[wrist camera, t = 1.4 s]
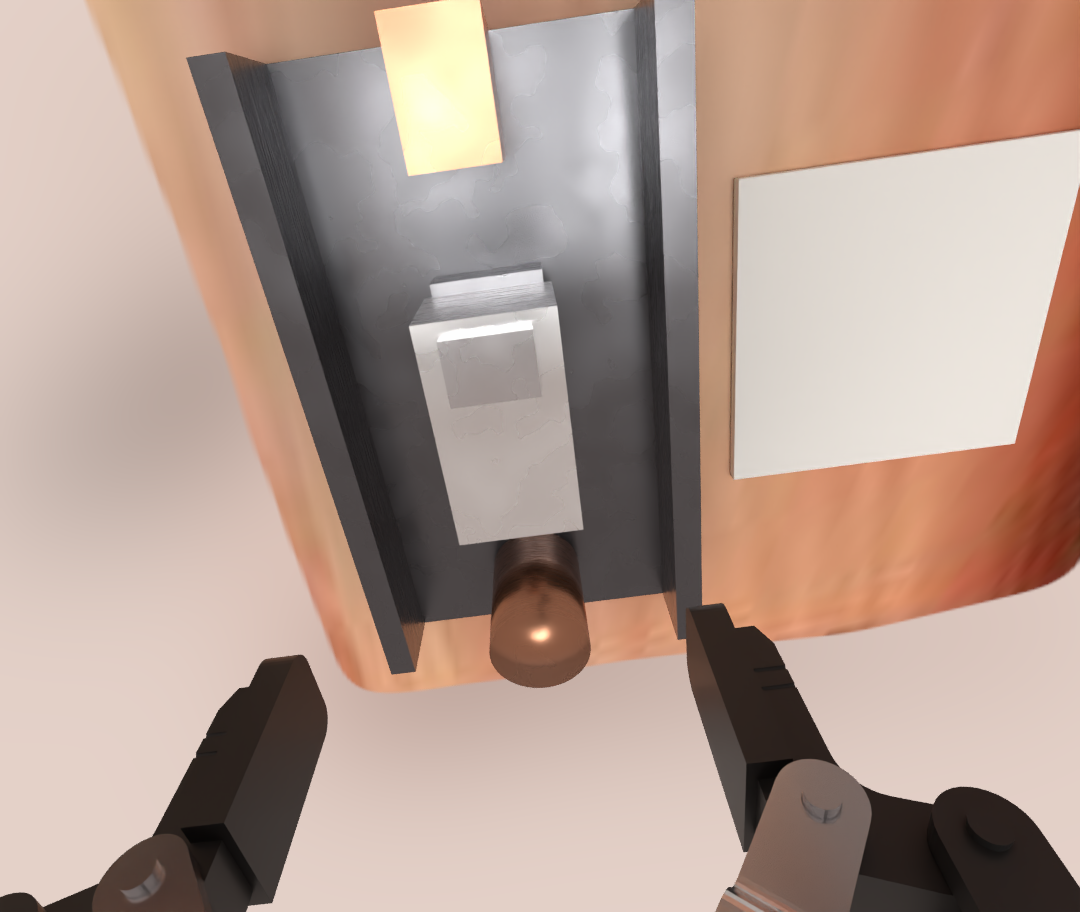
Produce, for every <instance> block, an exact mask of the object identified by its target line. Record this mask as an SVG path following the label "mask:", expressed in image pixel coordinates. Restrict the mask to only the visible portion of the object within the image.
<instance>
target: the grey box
mask: <svg viewBox="0 0 1080 912" xmlns="http://www.w3.org/2000/svg"><path fill="white" fill-rule="evenodd" d="M409 329H410V334H411V338H412V342H413V347H414V351H415V355H416V359H417V364H418V368H419V372H420V377H421V381H422V385H423V390H424V394H425V398H426V403H427V407H428V411H429V416H430V420H431V424H432V428H433V433H434V437H435V441H436V446H437V450H438V454H439V459H440V463H441V467H442V472H443V476H444V480H445V484H446V489H447V493H448V497H449V502H450V506H451V510H452V515H453V519H454V523H455V528H456V532H457V536H458V540H459V545H466V544H474V543H482V542H490V541H498V540H505V539H513V538H521V537H529V536H537V535H545V534H553V533H560V532H568V531H576V530H583V521H582V513H581V504H580V496H579V487H578V479H577V470H576V462H575V453H574V445H573V436H572V428H571V419H570V411H569V402H568V394H567V385H566V377H565V368H564V360H563V351H562V343H561V334H560V326H559V317H558V309H557V303H556V299H555V295H554V291H553V286H552V282H551V281H548V282H541V283H533V284H526V285H519V286H512V287H505V288H498V289H490V290H483V291H476V292H469V293H462V294H455V295H448V296H440V297H433V298H426V299H424V301H423V302H422V304H421V306H420V308H419V309H418V311H417V313H416V315H415V316H414V318H413V320H412V322H411V323H410V325H409Z"/></svg>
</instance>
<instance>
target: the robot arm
mask: <svg viewBox="0 0 1080 912" xmlns="http://www.w3.org/2000/svg"><path fill="white" fill-rule="evenodd" d="M686 643H687V666H688V672H689V678H690V683H691V688H692V691H693V695H694V698H695V701H696V704H697V707H698V711H699V713H700V717H701V720H702V723H703V726H704V729H705V733H706V736H707V739H708V742H709V745H710V748H711V751H712V754H713V758H714V761H715V764H716V767H717V770H718V773H719V777H720V780H721V783H722V786H723V789H724V792H725V795H726V799H727V802H728V805H729V808H730V811H731V814H732V817H733V820H734V824H735V827H736V830H737V833H738V836H739V839H740V842H741V846H742V849H743V852H748V853H747V855H746V858H745V860H744V863H743V865H742V868H741V871H740V873H739V876H738V878H737V880H736V882H735V885H734V886H733V887H732V888H731V887H728V888H727V889H726V891H725V893H724V894H723V896H722V898H721V900H720V903H719V905H718V907H717V909H716V912H1080V887H1079V886H1078V884H1077V883H1076V881H1075V880H1074V878H1073V877H1072V876H1071V874H1070V873H1069V872H1068V870H1067V868H1066V867H1065V865H1064V864H1063V863H1062V861H1061V860H1060V858H1059V857H1058V855H1057V854H1056V852H1055V851H1054V850H1053V848H1052V847H1051V845H1050V844H1049V842H1048V841H1047V839H1046V838H1045V836H1044V835H1043V834H1042V832H1041V831H1040V829H1039V828H1038V827H1037V825H1036V824H1035V823H1034V822H1033V821H1032V820H1031V819H1030V818H1029V816H1028V815H1027V814H1026V813H1024V812H1023V811H1022V810H1021V809H1019V808H1018V807H1017V806H1016V805H1014V804H1012V803H1011V802H1009V801H1008V800H1006V799H1004V798H1002V797H1001V796H999V795H996V794H994V793H991V792H989V791H986V790H982V789H979V788H973V787H956V788H951V789H949V790H946V791H944V792H943V793H941V794H940V795H939V796H938V797H937V799H936V801H935V803H934V804H929V803H923V802H918V801H912V800H907V799H902V798H897V797H892V796H888V795H884V794H880V793H877V792H875V791H872V790H870V789H868V788H866V787H864V786H862V785H861V784H859V783H858V782H857V781H856V779H855V778H853V777H852V776H851V775H850V774H849V773H847V772H846V771H844V770H843V769H841V768H840V767H839V766H838V765H837V763H836V762H835V761H834V759H833V757H832V756H831V754H830V752H829V750H828V749H827V746H826V744H825V743H824V740H823V738H822V737H821V735H820V733H819V731H818V729H817V727H816V725H815V723H814V721H813V719H812V717H811V715H810V713H809V711H808V709H807V707H806V705H805V703H804V701H803V699H802V697H801V695H800V693H799V691H798V689H797V688H795V685H794V682H793V680H792V678H791V676H790V674H789V672H788V670H787V669H786V668H785V664H784V662H783V660H782V658H781V656H780V654H779V653H778V650H777V648H776V646H775V644H774V643H773V642H772V641H771V640H770V639H768V638H767V637H766V636H765V635H764V634H763V633H762V632H760V631H759V630H758V629H757V628H756V627H755V626H749V627H741V628H735V627H734V625H733V623H732V620H731V618H730V616H729V614H728V611H727V609H726V607H725V606H724V604H722V603H719V604H711V605H703V606H695V607H687V608H686ZM327 719H328V717H327V708H326V705H325V702H324V699H323V697H322V695H321V692H320V690H319V688H318V685H317V683H316V680H315V678H314V676H313V673H312V671H311V668H310V666H309V663H308V661H307V659H306V658H305V657H304V656H303V655H294V656H286V657H278V658H270V659H265V660H264V661H262V663H261V664H260V666H259V668H258V669H257V672H256V673H255V675H254V678H253V680H252V682H251V684H250V686H249V687H245V688H239V689H238V690H237V691H236V692H235V693H234V694H233V695H232V696H231V698H229V700H228V701H227V702H226V703H225V704H224V705H223V706H222V707H221V708H220V709H219V710H218V712H217V714H216V716H215V718H214V720H213V722H212V724H211V726H210V727H209V730H208V731H207V733H206V735H207V736H206V738H205V739H203V741H202V743H201V745H200V747H199V749H198V750H197V752H196V758H194V759H193V760H192V762H191V764H190V766H189V768H188V770H187V772H186V774H185V775H184V777H183V779H182V781H181V783H180V785H179V787H178V789H177V791H176V793H175V795H174V796H173V798H172V800H171V802H170V804H169V806H168V808H167V810H166V812H165V814H164V816H163V818H162V820H161V821H160V823H159V825H158V827H157V829H156V831H155V833H154V834H153V836H152V837H150V838H148V839H146V840H143V841H141V842H140V843H138V844H136V845H135V846H133V847H132V848H130V849H129V850H128V851H126V852H125V853H124V854H123V855H121V856H120V857H119V858H118V859H117V860H116V861H115V862H114V863H113V864H112V865H111V867H110V868H109V869H108V870H107V872H106V873H105V875H104V876H103V877H102V879H101V881H100V882H99V884H96V885H94V886H92V887H90V888H88V889H85V890H83V891H81V892H78V893H76V894H73V895H71V896H68V897H66V898H64V899H61V900H59V901H56V902H54V903H52V904H49V905H47V906H45V907H42V906H41V905H40V904H39V903H38V902H37V901H36V899H35V898H34V897H33V896H32V895H30V894H27V893H12V894H8V895H5V896H3V897H0V912H246V910H247V908H248V906H250V905H258V904H268V903H272V902H273V899H274V896H275V892H276V889H277V886H278V883H279V880H280V877H281V874H282V871H283V867H284V864H285V861H286V858H287V855H288V852H289V849H290V846H291V842H292V839H293V836H294V833H295V830H296V827H297V824H298V821H299V817H300V814H301V811H302V808H303V805H304V802H305V799H306V795H307V792H308V789H309V786H310V783H311V779H312V777H313V774H314V771H315V767H316V764H317V761H318V758H319V755H320V752H321V749H322V745H323V742H324V739H325V736H326V732H327Z"/></svg>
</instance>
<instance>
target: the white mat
mask: <svg viewBox="0 0 1080 912" xmlns="http://www.w3.org/2000/svg"><path fill="white" fill-rule="evenodd" d="M1079 184H1080V129H1076V130H1069V131H1062V132H1055V133H1048V134H1041V135H1034V136H1027V137H1020V138H1013V139H1006V140H999V141H992V142H985V143H978V144H971V145H964V146H957V147H950V148H943V149H936V150H929V151H922V152H916V153H909V154H902V155H895V156H888V157H881V158H874V159H867V160H860V161H853V162H846V163H839V164H832V165H825V166H818V167H811V168H804V169H797V170H790V171H783V172H776V173H769V174H762V175H755V176H748V177H741V178H734V235H733V309H732V383H731V456H730V474H731V476H732V477H733V479H734V480H735V479H743V478H751V477H759V476H766V475H774V474H782V473H790V472H797V471H805V470H813V469H821V468H829V467H836V466H844V465H852V464H860V463H867V462H875V461H883V460H891V459H898V458H906V457H914V456H922V455H929V454H937V453H945V452H953V451H960V450H968V449H976V448H984V447H991V446H999V445H1007V444H1015V440H1016V436H1017V432H1018V428H1019V424H1020V420H1021V416H1022V412H1023V408H1024V404H1025V400H1026V396H1027V392H1028V388H1029V384H1030V380H1031V376H1032V372H1033V368H1034V364H1035V360H1036V356H1037V352H1038V348H1039V344H1040V340H1041V336H1042V332H1043V328H1044V324H1045V320H1046V316H1047V312H1048V308H1049V304H1050V300H1051V296H1052V292H1053V288H1054V284H1055V280H1056V276H1057V272H1058V268H1059V264H1060V260H1061V256H1062V252H1063V248H1064V244H1065V240H1066V236H1067V232H1068V228H1069V224H1070V220H1071V216H1072V212H1073V208H1074V204H1075V200H1076V196H1077V192H1078V188H1079Z"/></svg>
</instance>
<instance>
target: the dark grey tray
mask: <svg viewBox="0 0 1080 912" xmlns="http://www.w3.org/2000/svg"><path fill="white" fill-rule="evenodd" d="M374 14H375V19H376V23H377V28H378V33H379V38H380V43H381V47H376V48H370V49H363V50H356V51H350V52H343V53H337V54H330V55H324V56H317V57H310V58H304V59H297V60H291V61H284V62H278V63H271V64H264V63H261V62H258V61H254V60H251V59H248V58H244V57H241V56H237V55H234V54H231V53H227V52H221V53H214V54H207V55H201V56H194V57H188V58H187V61H188V64H189V67H190V70H191V74H192V77H193V80H194V83H195V86H196V89H197V92H198V95H199V98H200V101H201V104H202V107H203V110H204V113H205V116H206V119H207V122H208V125H209V128H210V131H211V134H212V137H213V140H214V143H215V146H216V149H217V152H218V155H219V158H220V161H221V164H222V167H223V170H224V173H225V176H226V179H227V182H228V185H229V188H230V191H231V194H232V197H233V200H234V203H235V206H236V209H237V212H238V215H239V218H240V221H241V224H242V227H243V230H244V233H245V236H246V239H247V242H248V245H249V248H250V251H251V254H252V257H253V260H254V263H255V266H256V269H257V272H258V275H259V278H260V281H261V284H262V287H263V290H264V293H265V296H266V299H267V302H268V305H269V308H270V311H271V314H272V317H273V320H274V323H275V326H276V329H277V332H278V335H279V338H280V341H281V344H282V347H283V350H284V353H285V356H286V359H287V362H288V365H289V368H290V371H291V374H292V377H293V380H294V383H295V386H296V389H297V392H298V395H299V398H300V401H301V404H302V407H303V410H304V413H305V416H306V419H307V422H308V425H309V428H310V431H311V434H312V437H313V440H314V443H315V446H316V449H317V452H318V455H319V458H320V461H321V464H322V467H323V470H324V473H325V476H326V479H327V482H328V485H329V488H330V491H331V494H332V497H333V500H334V503H335V506H336V509H337V512H338V515H339V518H340V521H341V524H342V527H343V530H344V533H345V536H346V539H347V542H348V545H349V548H350V551H351V554H352V557H353V560H354V563H355V566H356V569H357V572H358V575H359V578H360V581H361V584H362V587H363V590H364V593H365V596H366V599H367V602H368V605H369V608H370V611H371V614H372V617H373V620H374V623H375V626H376V629H377V632H378V635H379V638H380V641H381V644H382V647H383V650H384V653H385V656H386V659H387V662H388V665H389V668H390V671H391V674H400V673H408V672H416V667H417V661H418V656H419V651H420V646H421V640H422V635H423V630H424V625H425V622H432V621H440V620H448V619H456V618H464V617H472V616H480V615H488V614H491V633H490V659H491V662H492V664H493V666H494V668H495V669H496V670H497V671H498V672H499V674H500V675H502V676H503V677H504V678H506V679H507V680H509V681H511V682H513V683H516V684H518V685H522V686H526V687H532V688H543V687H551V686H556V685H559V684H562V683H564V682H566V681H569V680H570V679H572V678H573V677H575V676H576V675H577V674H579V673H580V672H581V671H582V669H583V668H584V667H585V665H586V664H587V662H588V660H589V657H590V651H591V647H590V639H589V632H588V625H587V618H586V611H585V604H584V603H585V602H593V601H601V600H609V599H617V598H625V597H633V596H641V595H650V594H658V593H663V595H664V598H665V602H666V605H667V608H668V611H669V614H670V617H671V620H672V623H673V626H674V630H675V633H676V636H677V639H678V640H680V639H686V608H687V607H695V606H702V569H701V486H700V403H699V320H698V237H697V153H696V70H695V0H641V1H640V2H639V3H638V4H637V5H636V6H635V8H632V9H625V10H619V11H612V12H606V13H599V14H593V15H586V16H580V17H573V18H566V19H560V20H553V21H547V22H540V23H534V24H527V25H520V26H514V27H507V28H501V29H494V30H488V27H487V24H486V20H485V16H484V12H483V9H482V5H481V1H480V0H443V1H436V2H430V3H423V4H417V5H410V6H404V7H397V8H391V9H384V10H378V11H374ZM548 281H551V282H552V286H553V291H554V295H555V299H556V303H557V309H558V317H559V326H560V334H561V343H562V351H563V360H564V368H565V377H566V385H567V394H568V402H569V411H570V419H571V428H572V436H573V445H574V453H575V462H576V470H577V479H578V487H579V496H580V504H581V513H582V521H583V530H576V531H568V532H560V533H553V534H545V535H537V536H529V537H521V538H513V539H505V540H498V541H490V542H482V543H474V544H466V545H459V540H458V536H457V532H456V528H455V523H454V519H453V515H452V510H451V506H450V502H449V497H448V493H447V489H446V484H445V480H444V476H443V472H442V467H441V463H440V459H439V454H438V450H437V446H436V441H435V437H434V433H433V428H432V424H431V420H430V416H429V411H428V407H427V403H426V398H425V394H424V390H423V385H422V381H421V377H420V372H419V368H418V364H417V359H416V355H415V351H414V347H413V342H412V338H411V334H410V329H409V325H410V323H411V322H412V320H413V318H414V316H415V315H416V313H417V311H418V309H419V308H420V306H421V304H422V302H423V301H424V299H426V298H433V297H440V296H448V295H455V294H462V293H469V292H476V291H483V290H490V289H498V288H505V287H512V286H519V285H526V284H533V283H541V282H548Z"/></svg>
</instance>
